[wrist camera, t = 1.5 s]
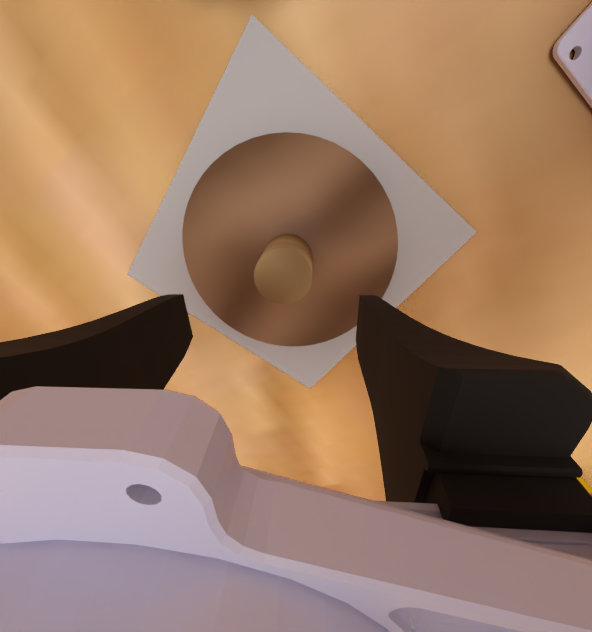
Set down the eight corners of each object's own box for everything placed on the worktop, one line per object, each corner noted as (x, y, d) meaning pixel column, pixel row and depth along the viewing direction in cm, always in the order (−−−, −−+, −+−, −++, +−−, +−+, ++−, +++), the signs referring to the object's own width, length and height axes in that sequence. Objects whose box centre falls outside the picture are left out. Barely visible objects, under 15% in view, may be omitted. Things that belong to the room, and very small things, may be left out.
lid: (441, 235, 18) (475, 256, 15) (307, 369, 24) (305, 409, 20) (260, 69, 15) (241, 38, 11) (154, 271, 21) (117, 297, 17)
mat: (474, 230, 18) (477, 231, 18) (310, 385, 25) (310, 388, 25) (253, 18, 14) (252, 14, 14) (130, 272, 21) (127, 274, 21)
